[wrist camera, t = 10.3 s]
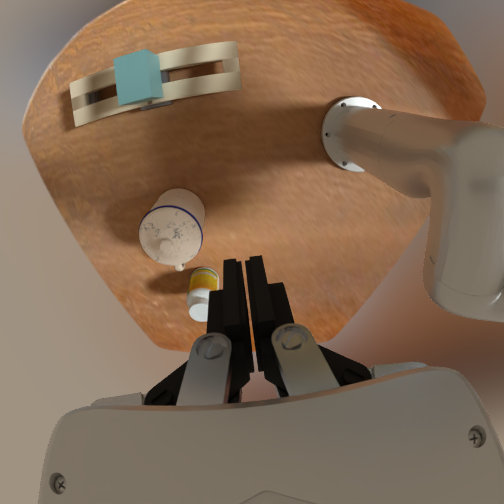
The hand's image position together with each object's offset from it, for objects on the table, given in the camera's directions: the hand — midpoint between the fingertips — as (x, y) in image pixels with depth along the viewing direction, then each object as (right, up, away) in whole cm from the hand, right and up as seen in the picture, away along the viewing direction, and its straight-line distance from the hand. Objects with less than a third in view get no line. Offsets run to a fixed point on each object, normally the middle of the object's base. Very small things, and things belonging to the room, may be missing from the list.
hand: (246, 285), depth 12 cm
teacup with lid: (-12, +7, +33) cm, 35 cm away
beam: (-14, +26, +21) cm, 36 cm away
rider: (-13, +25, +18) cm, 33 cm away
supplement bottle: (-8, -3, +39) cm, 40 cm away
